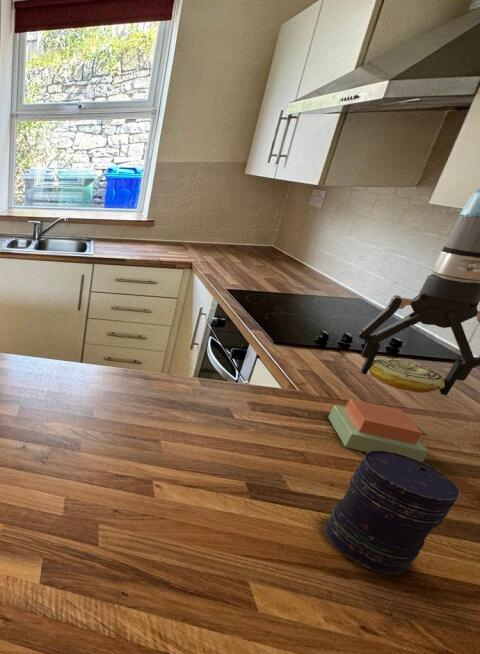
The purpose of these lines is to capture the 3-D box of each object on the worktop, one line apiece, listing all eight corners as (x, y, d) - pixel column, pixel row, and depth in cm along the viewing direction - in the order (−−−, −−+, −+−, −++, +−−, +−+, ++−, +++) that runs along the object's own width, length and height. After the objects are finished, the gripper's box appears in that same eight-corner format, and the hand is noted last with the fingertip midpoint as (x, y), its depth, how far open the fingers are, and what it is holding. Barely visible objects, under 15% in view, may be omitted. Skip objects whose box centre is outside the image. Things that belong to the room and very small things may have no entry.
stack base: (394, 432, 90) (401, 419, 89) (420, 465, 81) (429, 451, 79) (327, 417, 95) (333, 404, 94) (345, 447, 85) (352, 433, 84)
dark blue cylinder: (378, 583, 58) (431, 507, 51) (309, 527, 66) (347, 456, 60) (424, 565, 60) (479, 492, 54) (351, 514, 69) (392, 445, 63)
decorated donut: (454, 397, 77) (465, 380, 76) (398, 395, 78) (407, 378, 76) (403, 370, 87) (412, 355, 85) (353, 368, 87) (360, 353, 86)
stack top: (395, 421, 88) (402, 409, 87) (415, 445, 81) (422, 433, 80) (344, 409, 92) (349, 398, 91) (358, 431, 84) (364, 420, 83)
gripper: (373, 269, 77) (327, 368, 86) (572, 297, 64) (492, 412, 73) (372, 262, 82) (329, 356, 92) (555, 287, 69) (483, 395, 78)
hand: (401, 381), depth 82 cm, fingers closed on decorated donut, 11 cm apart
